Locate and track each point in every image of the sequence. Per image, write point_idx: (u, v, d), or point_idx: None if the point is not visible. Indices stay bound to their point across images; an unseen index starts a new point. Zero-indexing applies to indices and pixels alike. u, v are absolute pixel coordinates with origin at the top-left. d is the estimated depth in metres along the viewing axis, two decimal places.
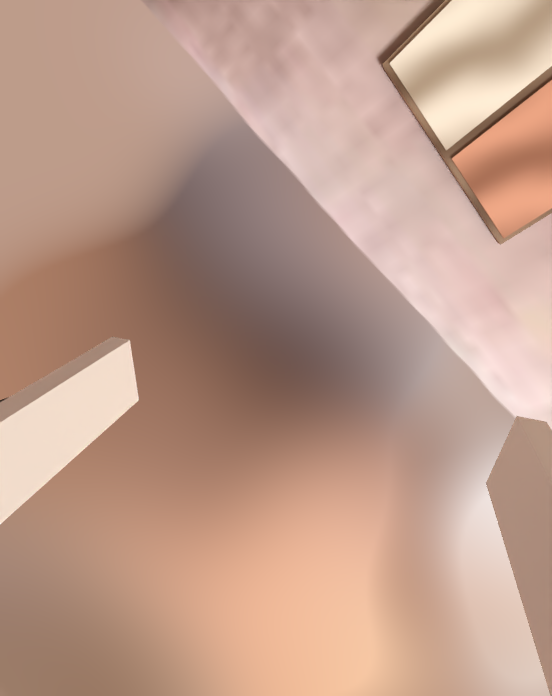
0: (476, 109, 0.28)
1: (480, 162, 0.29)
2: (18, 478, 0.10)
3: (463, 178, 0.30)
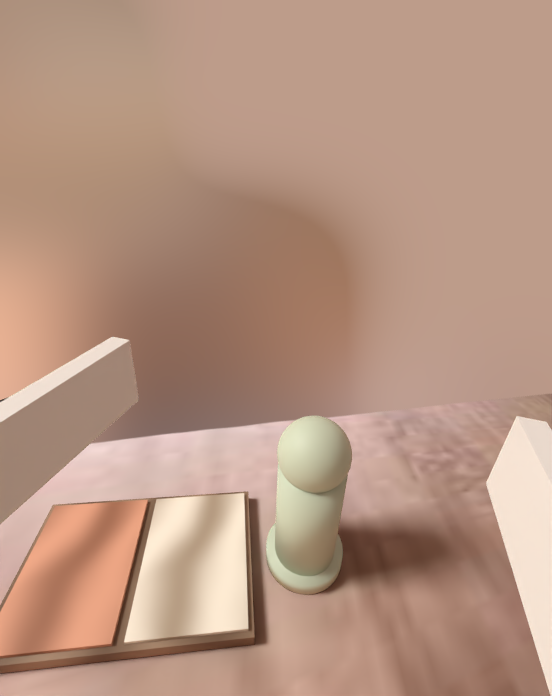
0: (161, 528, 0.31)
1: (124, 515, 0.32)
2: (18, 478, 0.10)
3: None
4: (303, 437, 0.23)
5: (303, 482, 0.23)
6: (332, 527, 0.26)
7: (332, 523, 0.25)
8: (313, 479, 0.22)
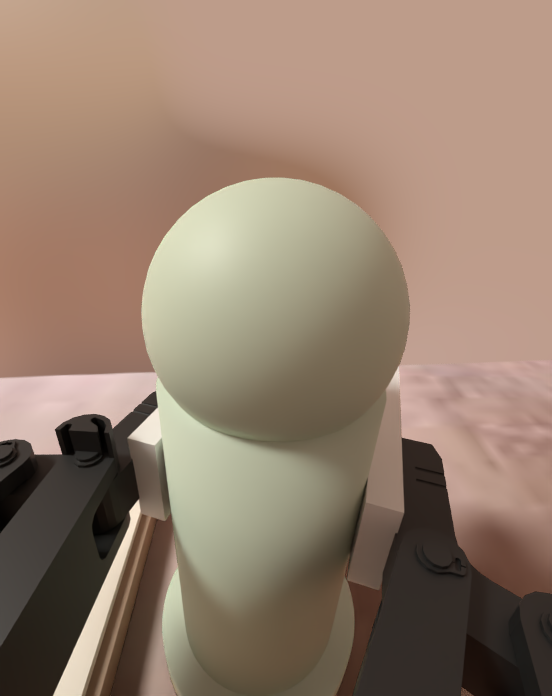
0: None
1: None
2: None
3: None
4: (219, 201, 0.06)
5: (207, 384, 0.05)
6: (329, 570, 0.08)
7: (329, 557, 0.08)
8: (245, 365, 0.05)
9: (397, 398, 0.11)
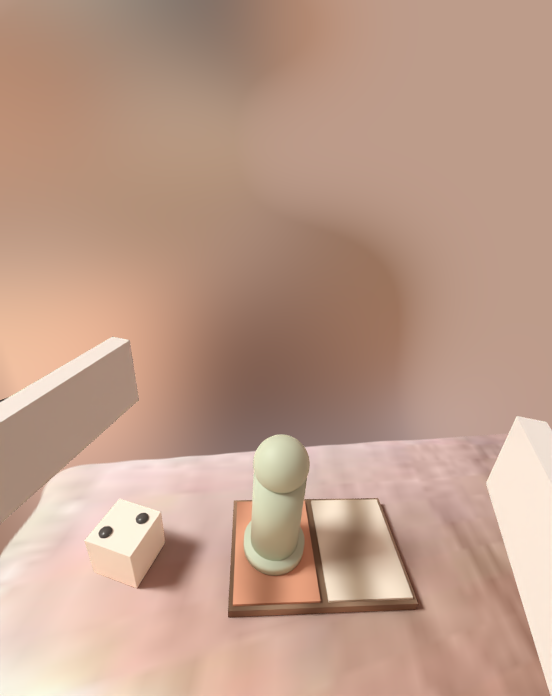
0: (323, 522, 0.40)
1: None
2: (18, 478, 0.10)
3: None
4: (272, 451, 0.31)
5: (271, 484, 0.31)
6: (294, 521, 0.33)
7: (293, 517, 0.33)
8: (277, 482, 0.30)
9: None
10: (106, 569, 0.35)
